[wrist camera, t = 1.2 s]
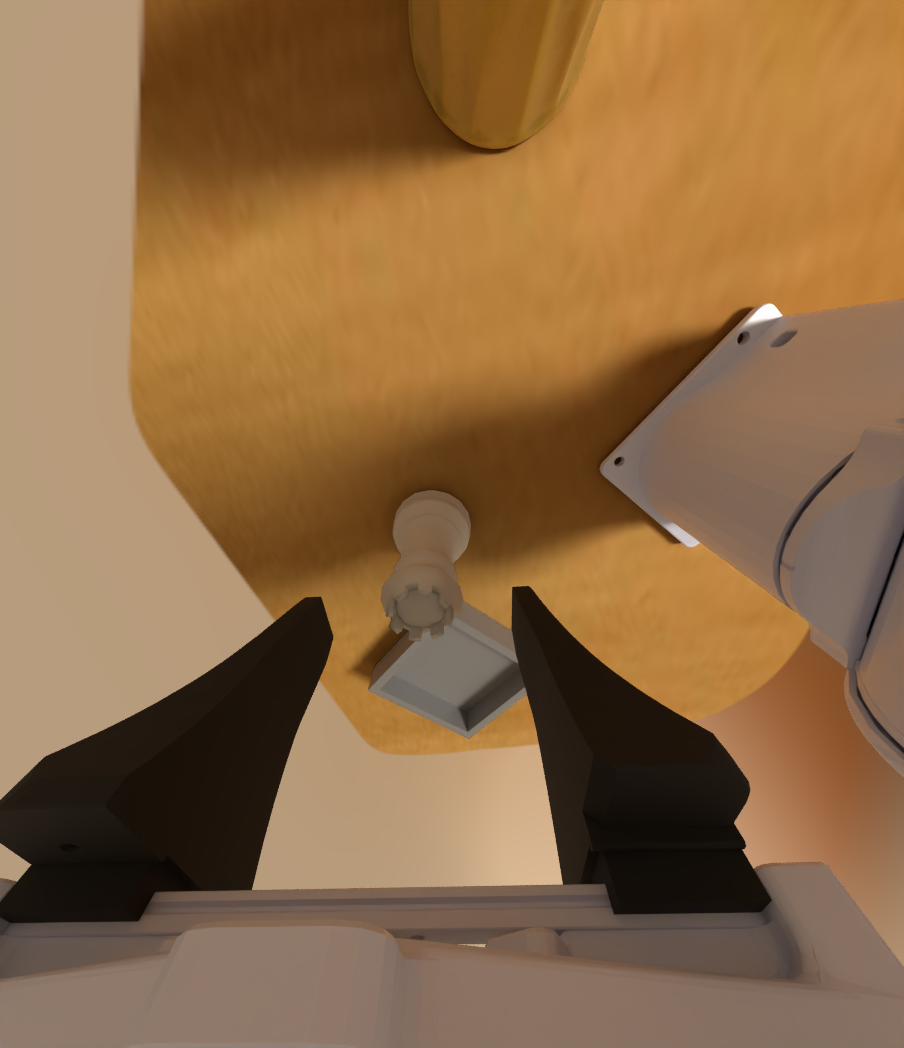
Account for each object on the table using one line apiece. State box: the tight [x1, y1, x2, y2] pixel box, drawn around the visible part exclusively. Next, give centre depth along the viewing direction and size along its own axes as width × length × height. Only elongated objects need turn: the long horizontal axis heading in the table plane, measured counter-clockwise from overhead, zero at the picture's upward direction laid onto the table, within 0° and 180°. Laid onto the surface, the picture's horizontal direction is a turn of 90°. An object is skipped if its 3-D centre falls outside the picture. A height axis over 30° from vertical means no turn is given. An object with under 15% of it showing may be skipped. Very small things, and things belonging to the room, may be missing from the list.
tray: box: [368, 601, 527, 739], centre depth 23 cm, size 9×9×2 cm
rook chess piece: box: [381, 490, 471, 642], centre depth 16 cm, size 4×4×8 cm
